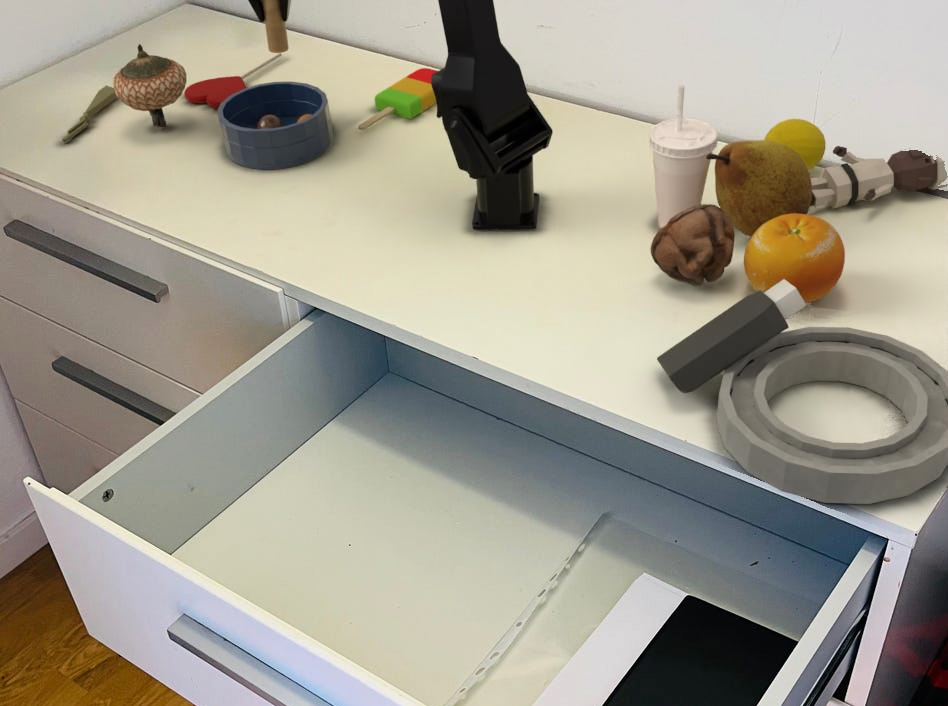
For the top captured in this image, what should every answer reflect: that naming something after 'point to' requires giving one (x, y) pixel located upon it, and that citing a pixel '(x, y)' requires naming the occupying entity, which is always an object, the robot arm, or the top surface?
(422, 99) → the popsicle
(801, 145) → the fruit
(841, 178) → the toy
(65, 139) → the olive green tapered piece
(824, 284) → the fruit
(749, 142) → the fruit
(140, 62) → the acorn
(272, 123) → the bead
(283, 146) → the bowl
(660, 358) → the usb drive
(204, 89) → the lollipop
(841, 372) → the mechanical component
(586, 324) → the top surface
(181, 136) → the top surface
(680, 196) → the smoothie
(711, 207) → the brown walnut half
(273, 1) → the stick
